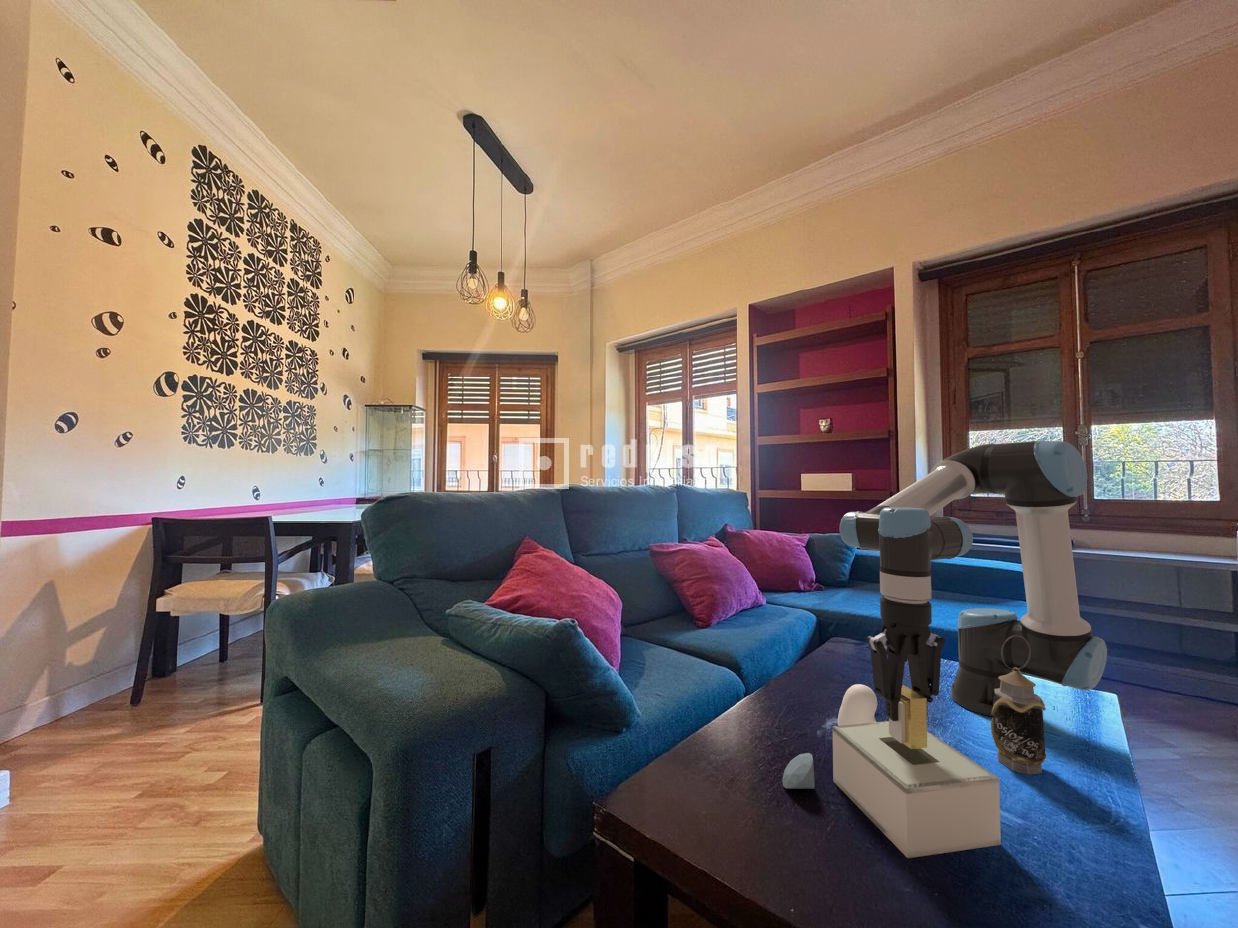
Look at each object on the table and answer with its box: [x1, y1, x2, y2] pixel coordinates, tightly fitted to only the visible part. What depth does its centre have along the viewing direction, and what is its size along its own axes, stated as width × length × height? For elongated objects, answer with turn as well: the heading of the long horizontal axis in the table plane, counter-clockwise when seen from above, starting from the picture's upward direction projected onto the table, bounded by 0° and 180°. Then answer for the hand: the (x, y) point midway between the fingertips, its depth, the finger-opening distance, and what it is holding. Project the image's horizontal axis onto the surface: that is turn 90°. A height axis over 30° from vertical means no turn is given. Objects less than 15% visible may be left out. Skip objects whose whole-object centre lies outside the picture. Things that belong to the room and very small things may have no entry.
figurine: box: [837, 683, 878, 726], centre depth 101 cm, size 7×8×12 cm
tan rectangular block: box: [888, 684, 928, 749], centre depth 80 cm, size 3×5×8 cm, turn 9°
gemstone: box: [782, 752, 815, 790], centre depth 86 cm, size 8×8×5 cm
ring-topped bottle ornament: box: [990, 635, 1048, 776], centre depth 93 cm, size 9×8×25 cm
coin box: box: [832, 720, 1002, 859], centre depth 80 cm, size 16×18×10 cm
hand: (907, 737), depth 80 cm, fingers closed on tan rectangular block, 3 cm apart
